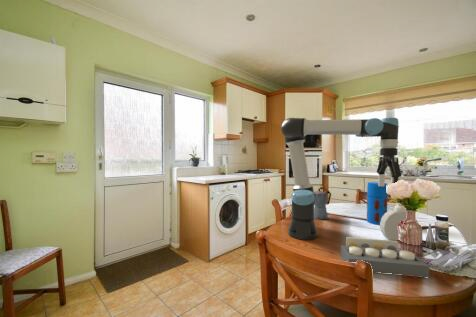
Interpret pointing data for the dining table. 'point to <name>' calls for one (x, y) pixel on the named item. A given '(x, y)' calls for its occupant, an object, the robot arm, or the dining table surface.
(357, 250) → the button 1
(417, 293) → the dining table surface
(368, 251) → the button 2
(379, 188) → the thermos
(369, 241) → the card
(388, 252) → the button
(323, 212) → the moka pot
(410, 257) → the button
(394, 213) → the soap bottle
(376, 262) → the board
